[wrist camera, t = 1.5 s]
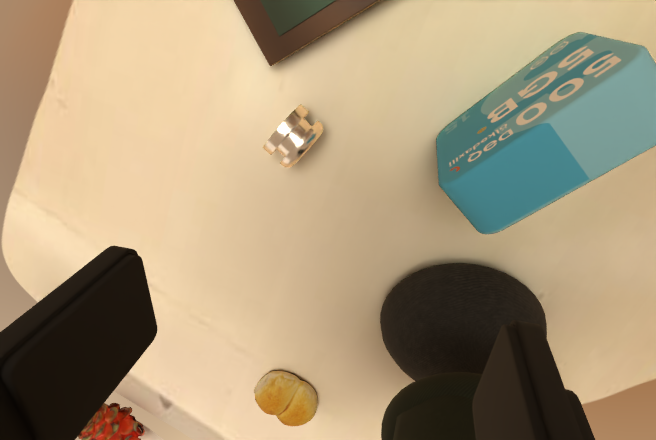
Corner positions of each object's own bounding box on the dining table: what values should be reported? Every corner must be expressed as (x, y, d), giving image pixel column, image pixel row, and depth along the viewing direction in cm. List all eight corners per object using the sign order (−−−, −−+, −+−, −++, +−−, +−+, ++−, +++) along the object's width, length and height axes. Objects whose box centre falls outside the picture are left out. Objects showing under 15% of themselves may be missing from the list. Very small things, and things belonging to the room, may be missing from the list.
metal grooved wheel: (307, 98, 35) (290, 112, 30) (331, 121, 35) (318, 139, 31) (274, 137, 37) (255, 155, 33) (298, 158, 38) (281, 178, 33)
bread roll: (299, 417, 58) (292, 443, 55) (251, 385, 57) (240, 409, 54) (332, 395, 54) (325, 422, 51) (280, 360, 53) (270, 385, 49)
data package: (574, 28, 28) (658, 46, 18) (606, 78, 29) (703, 121, 19) (434, 134, 34) (437, 192, 23) (465, 172, 35) (481, 244, 24)
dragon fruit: (101, 380, 69) (162, 408, 72) (72, 422, 68) (135, 448, 72) (85, 407, 61) (155, 437, 64) (52, 455, 60) (125, 482, 64)
